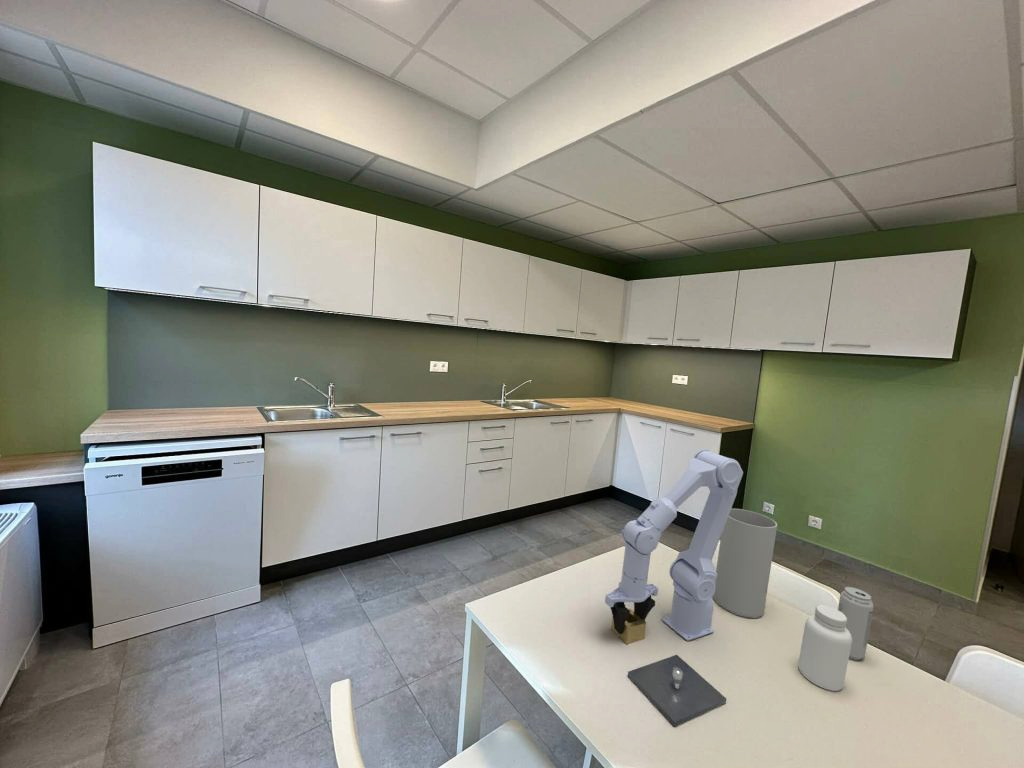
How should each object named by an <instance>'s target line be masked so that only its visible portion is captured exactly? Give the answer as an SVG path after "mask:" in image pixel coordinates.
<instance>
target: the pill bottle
mask: <svg viewBox="0 0 1024 768" xmlns="http://www.w3.org/2000/svg"><path fill="white" fill-rule="evenodd" d="M846 624H847V618H846V616H845V615H844V614H843V613H842V612H840V611H839V610H838V608H835V607H832V606H829V605H825V604H818V605H816V606H815V610H814V614H812V615H810V616H807V618H806V619H805V623H804V629H803V635H802V638H801V639H802V641H801V645H800V651H799V657H798V663H797V664H798V670H799V672H800V673H801V674H802V676H804V678H806V679H807V680H808V681H809V682H811V683H812V684H814V685H816V686H818V687H820V688H822V689H825V690H827V691H833V692H838V691H841V690H842V689H843V687H844V685H845V679H846V676H847V674H846V673H847V671H848V665H849V660H850V658H849V655H850V649H851V644H852V637H851V634H850V632H849V631H848V630H847V629H846Z"/></svg>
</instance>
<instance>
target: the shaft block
mask: <svg viewBox="0 0 1024 768" xmlns="http://www.w3.org/2000/svg"><path fill="white" fill-rule="evenodd" d="M627 678H629V680H631V681H632V683H633V684H634V685H635V686H636V687H637V688H638V690H639V691H640V692H642V694H643V695H644V696H645V697H646V698H647V699H648V700H649V702H651V704H652V705H653V706H654V707H655V708H656V709H657V710H658V711H659V712H660V713H661V714H662V716H663V717H664V718H665V719H666V720H667V721H668V722H669V723H670V724H671V726H673V728H675V727H678V726H680V725H683V724H684V723H686V722H688V721H691V720H693V719H695V718H698V717H700V716H702V715H704V714H706V713H709V712H711V711H712V710H716V709H717V708H719V707H721V706H724V705H726V704H727V697H726V696H725V695H723V694H722V693H721V692H720V691H718V690H717V689H716V687H714V686H713V685H712V684H711V683H710V682H709V681H707V680H706V679H705V678H704V677H703V676H702V675H700V674H699V672H697V670H695V669H694V668H693V667H692V666H690V665H689V664H688V663H687V662H686V661H685V660H684V659H682V658H681V657H680V656H679V654H675V655H671V656H669V657H667V658H664V659H660V660H658V661H657V660H656V661H654V662H651V663H650V664H647V665H643V666H641V667H640V666H639V667H638V668H634V669H632V670H629V671H627Z"/></svg>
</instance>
